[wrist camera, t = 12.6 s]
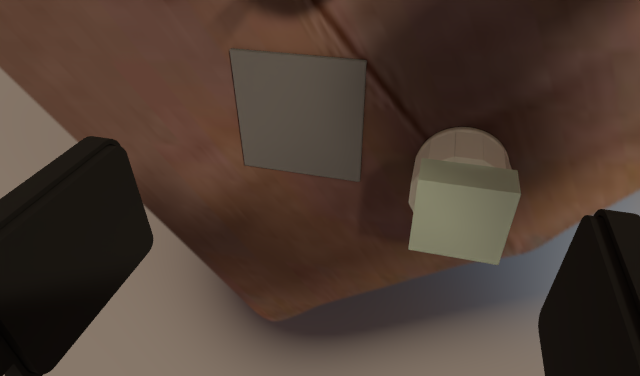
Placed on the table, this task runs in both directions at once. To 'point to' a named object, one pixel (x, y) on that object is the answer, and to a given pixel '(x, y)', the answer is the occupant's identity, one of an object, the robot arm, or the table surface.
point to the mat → (300, 112)
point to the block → (463, 210)
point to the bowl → (460, 151)
